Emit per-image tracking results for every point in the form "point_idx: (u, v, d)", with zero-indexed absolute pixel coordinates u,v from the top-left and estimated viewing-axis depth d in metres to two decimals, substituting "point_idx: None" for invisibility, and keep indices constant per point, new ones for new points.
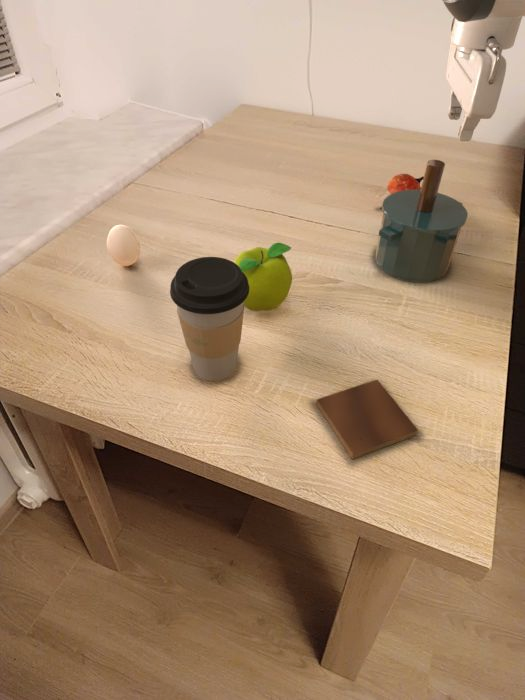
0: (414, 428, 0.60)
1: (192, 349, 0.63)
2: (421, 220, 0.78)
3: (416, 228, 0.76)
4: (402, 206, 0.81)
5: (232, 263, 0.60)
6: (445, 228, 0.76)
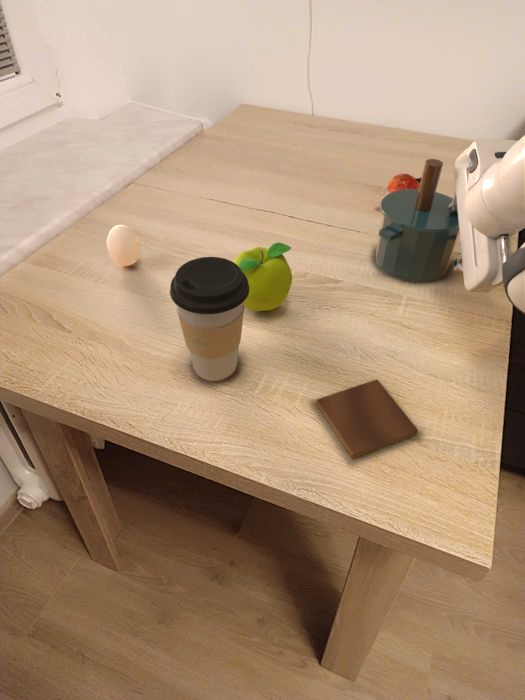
0: (414, 428, 0.60)
1: (192, 349, 0.63)
2: (420, 220, 0.78)
3: (416, 228, 0.76)
4: (400, 205, 0.81)
5: (232, 263, 0.60)
6: (445, 227, 0.76)
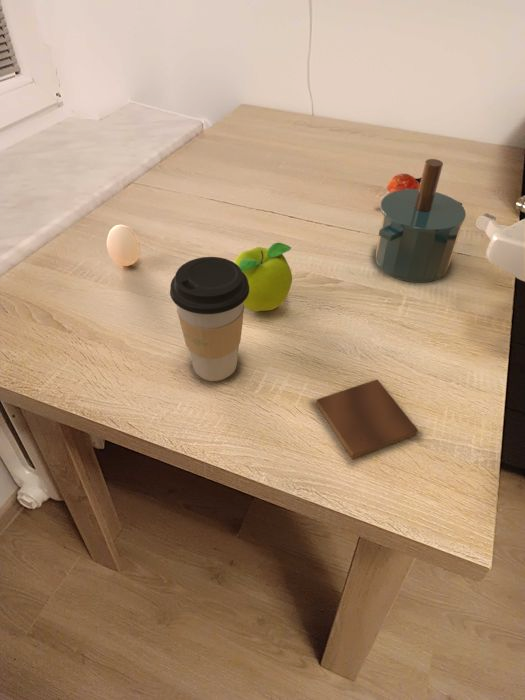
0: (414, 428, 0.60)
1: (192, 349, 0.63)
2: (420, 220, 0.78)
3: (416, 228, 0.76)
4: (400, 205, 0.81)
5: (232, 263, 0.60)
6: (445, 227, 0.76)
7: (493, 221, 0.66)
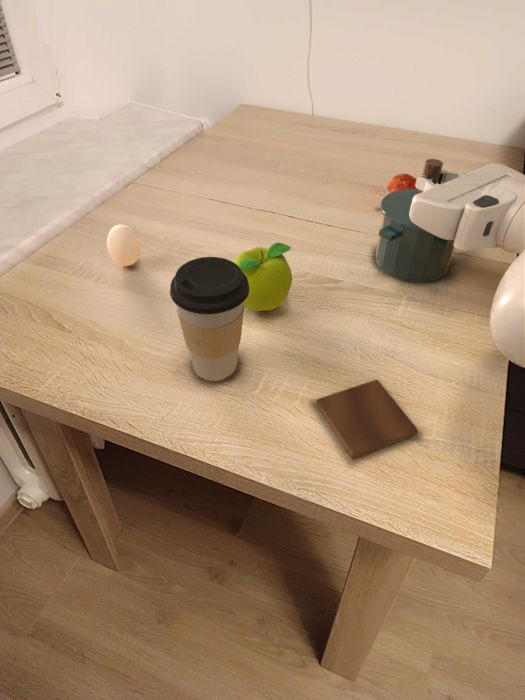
0: (414, 428, 0.60)
1: (192, 349, 0.63)
2: None
3: (416, 228, 0.76)
4: (400, 205, 0.81)
5: (232, 263, 0.60)
6: None
7: (429, 181, 0.74)
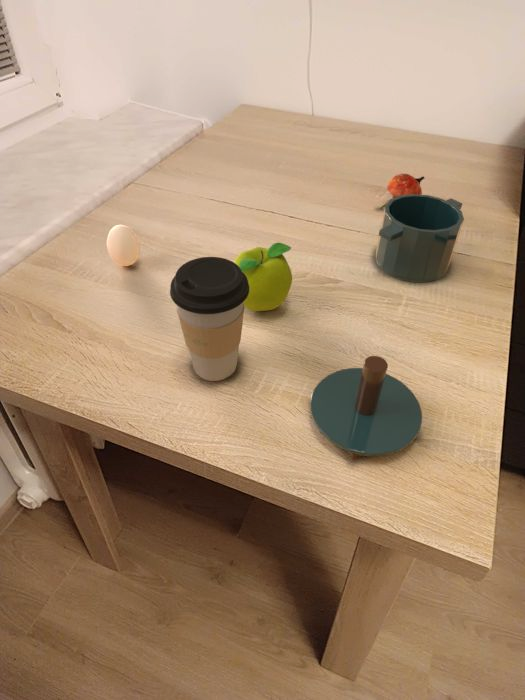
0: None
1: (192, 349, 0.63)
2: (360, 433, 0.58)
3: (353, 450, 0.56)
4: (336, 403, 0.61)
5: (232, 263, 0.60)
6: (391, 449, 0.56)
7: None
